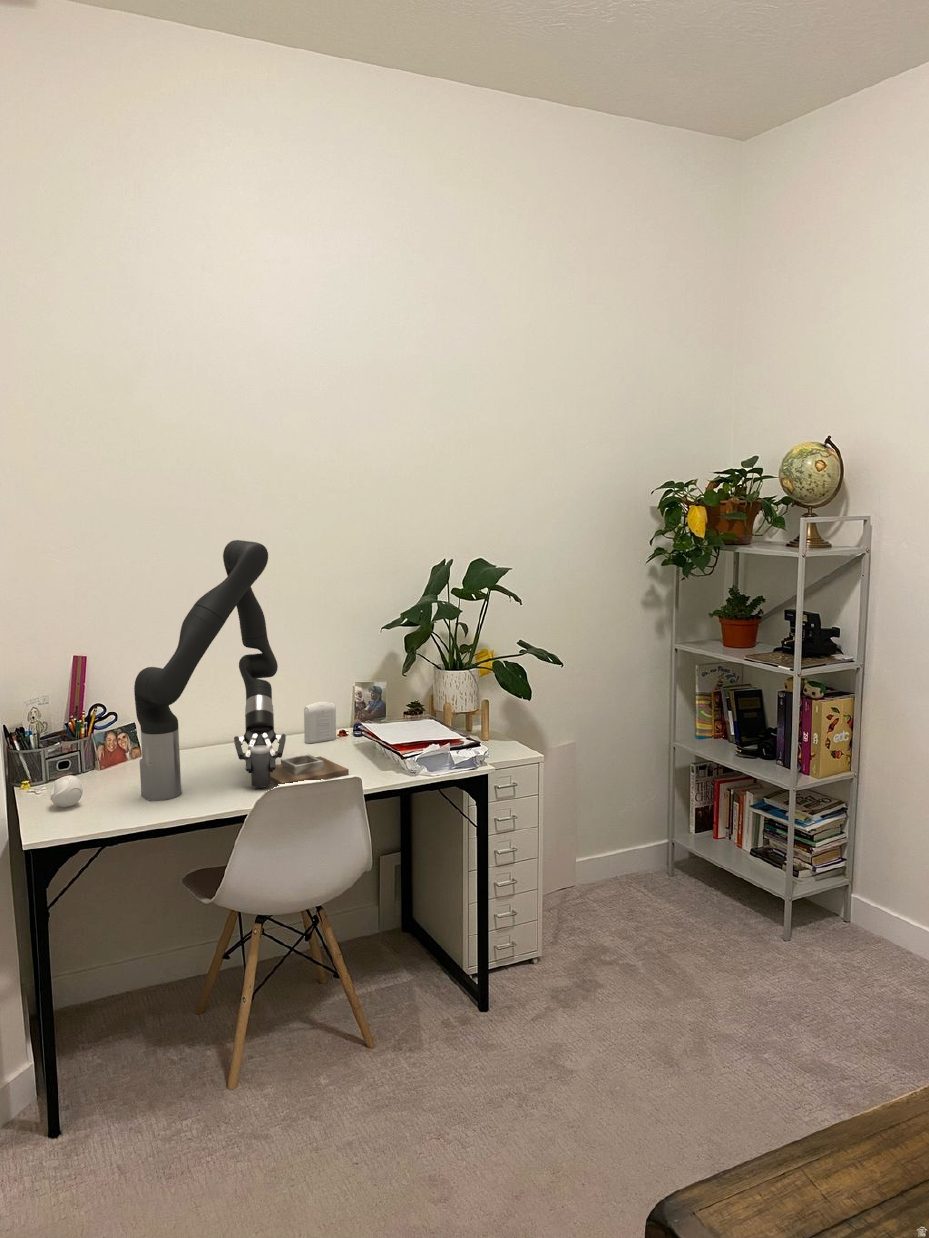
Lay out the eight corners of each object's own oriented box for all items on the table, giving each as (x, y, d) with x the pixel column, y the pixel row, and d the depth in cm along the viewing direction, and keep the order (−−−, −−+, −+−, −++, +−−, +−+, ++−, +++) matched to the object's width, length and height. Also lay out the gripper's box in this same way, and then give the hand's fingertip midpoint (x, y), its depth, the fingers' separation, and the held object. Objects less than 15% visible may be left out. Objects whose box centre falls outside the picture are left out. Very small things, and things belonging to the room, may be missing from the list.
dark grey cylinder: (256, 788, 249) (255, 751, 248) (248, 783, 253) (247, 747, 252) (274, 785, 252) (273, 748, 251) (265, 780, 256) (264, 744, 255)
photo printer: (332, 736, 304) (331, 698, 302) (338, 739, 300) (337, 701, 298) (302, 741, 298) (301, 702, 296) (308, 744, 294) (307, 705, 293)
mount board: (282, 788, 252) (282, 773, 252) (256, 774, 265) (255, 760, 264) (348, 774, 264) (348, 760, 263) (320, 761, 277) (320, 747, 276)
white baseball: (50, 803, 241) (48, 773, 240) (83, 799, 244) (81, 770, 243) (51, 813, 233) (49, 782, 232) (84, 809, 236) (82, 778, 235)
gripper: (231, 709, 256) (232, 766, 246) (286, 707, 259) (288, 762, 249) (232, 724, 262) (233, 779, 252) (286, 721, 265) (288, 776, 255)
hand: (260, 771), depth 250 cm, fingers closed on dark grey cylinder, 5 cm apart
